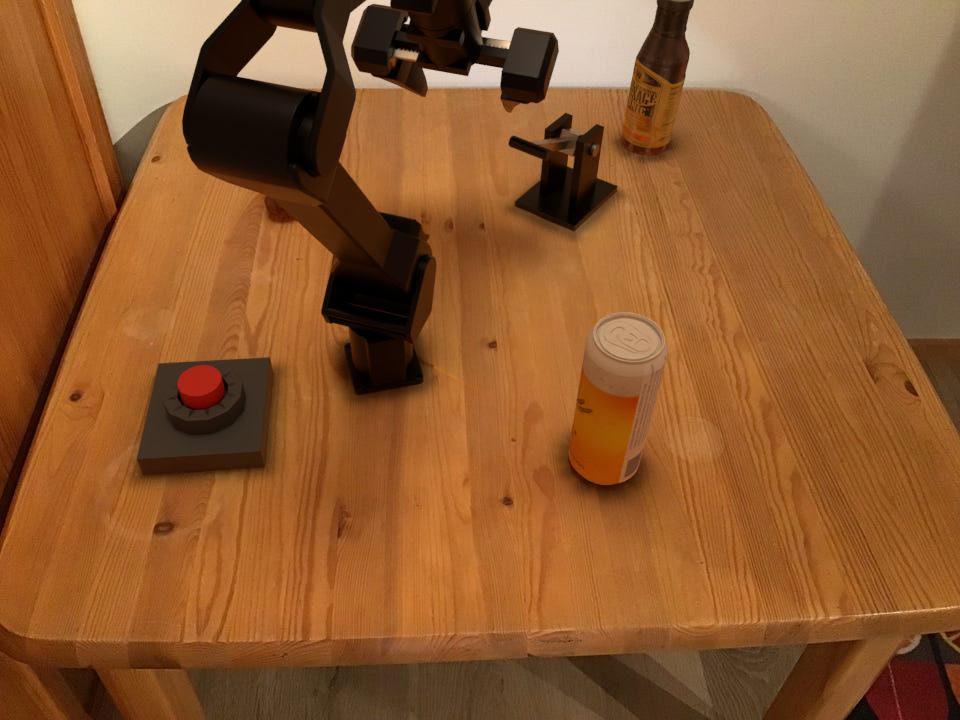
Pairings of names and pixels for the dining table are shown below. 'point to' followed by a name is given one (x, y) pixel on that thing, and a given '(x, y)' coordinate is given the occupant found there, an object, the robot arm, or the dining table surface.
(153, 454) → the button box
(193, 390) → the button
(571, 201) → the bracket
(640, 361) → the beer can
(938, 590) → the dining table surface
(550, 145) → the lever
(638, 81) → the sauce bottle
